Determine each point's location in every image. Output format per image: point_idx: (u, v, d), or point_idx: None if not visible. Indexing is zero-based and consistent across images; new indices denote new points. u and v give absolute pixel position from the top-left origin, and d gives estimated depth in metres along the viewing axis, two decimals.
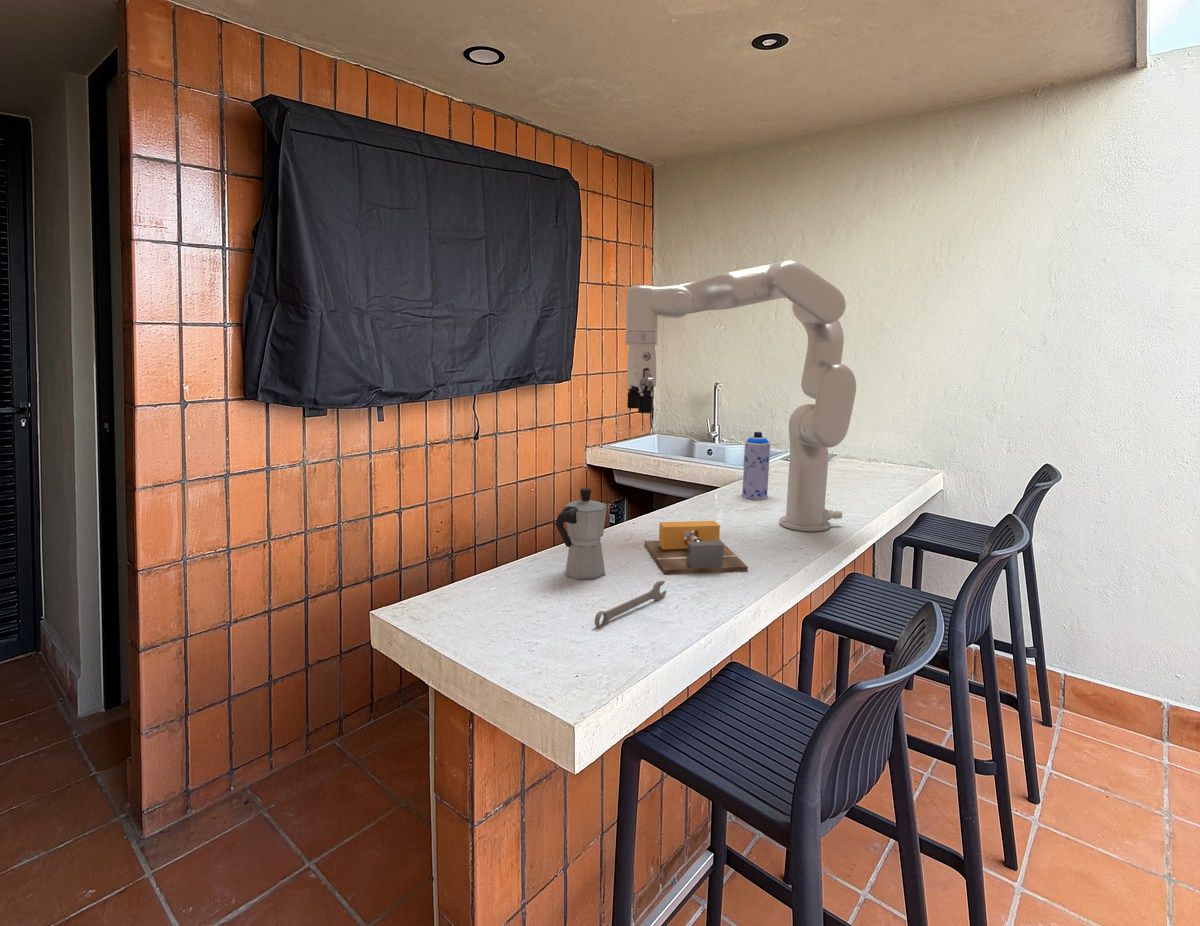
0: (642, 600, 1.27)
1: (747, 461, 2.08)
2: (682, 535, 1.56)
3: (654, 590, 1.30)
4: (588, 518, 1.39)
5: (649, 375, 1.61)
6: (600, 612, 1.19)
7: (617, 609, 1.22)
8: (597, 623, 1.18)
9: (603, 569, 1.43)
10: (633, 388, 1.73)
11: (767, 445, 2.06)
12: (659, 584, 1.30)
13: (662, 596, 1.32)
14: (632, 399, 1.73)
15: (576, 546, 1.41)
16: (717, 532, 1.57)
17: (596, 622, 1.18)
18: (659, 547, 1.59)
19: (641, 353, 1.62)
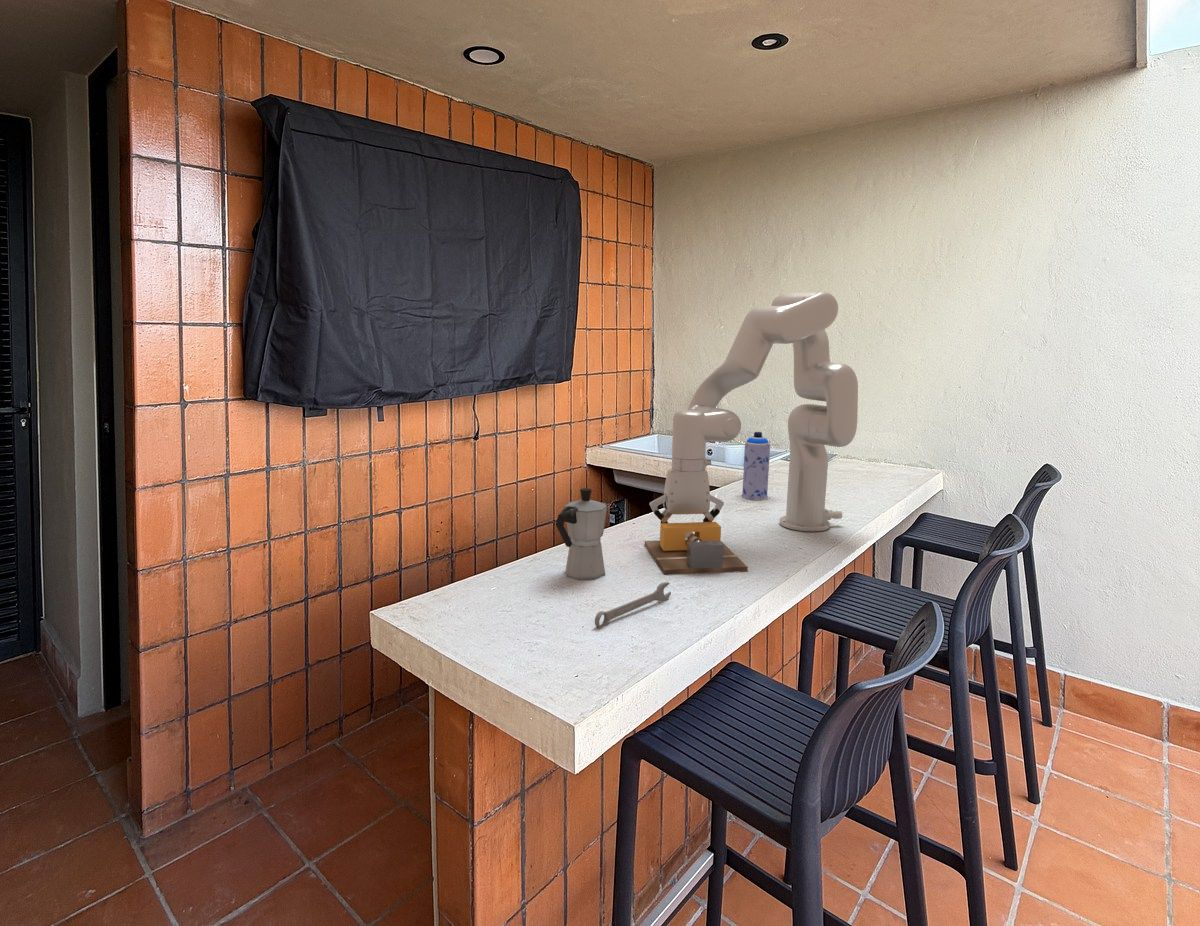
0: (645, 601, 1.27)
1: (747, 461, 2.08)
2: (683, 536, 1.56)
3: (658, 591, 1.29)
4: (588, 518, 1.39)
5: (717, 498, 1.61)
6: (601, 612, 1.19)
7: (618, 610, 1.22)
8: (597, 623, 1.18)
9: (603, 569, 1.43)
10: None
11: (767, 445, 2.06)
12: (663, 585, 1.30)
13: (666, 598, 1.31)
14: None
15: (576, 546, 1.41)
16: (718, 533, 1.57)
17: (596, 622, 1.18)
18: (659, 547, 1.59)
19: (708, 479, 1.59)
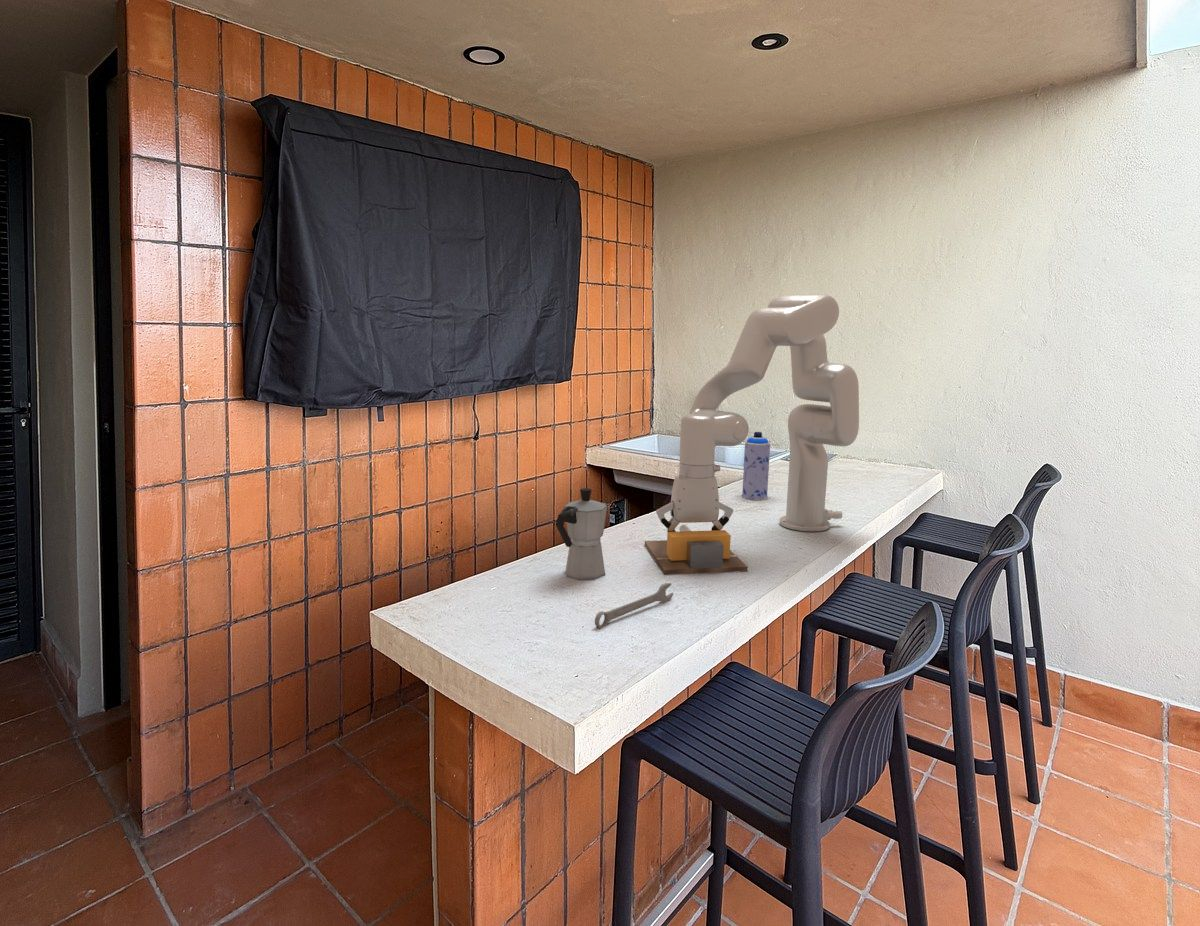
0: (646, 602, 1.26)
1: (747, 461, 2.08)
2: None
3: (660, 592, 1.29)
4: (588, 518, 1.39)
5: (727, 506, 1.55)
6: (601, 613, 1.19)
7: (619, 610, 1.22)
8: (597, 623, 1.18)
9: (603, 569, 1.43)
10: None
11: (767, 445, 2.06)
12: (665, 586, 1.29)
13: (668, 598, 1.31)
14: None
15: (576, 546, 1.41)
16: (728, 542, 1.50)
17: (596, 623, 1.18)
18: (659, 547, 1.59)
19: (717, 486, 1.52)
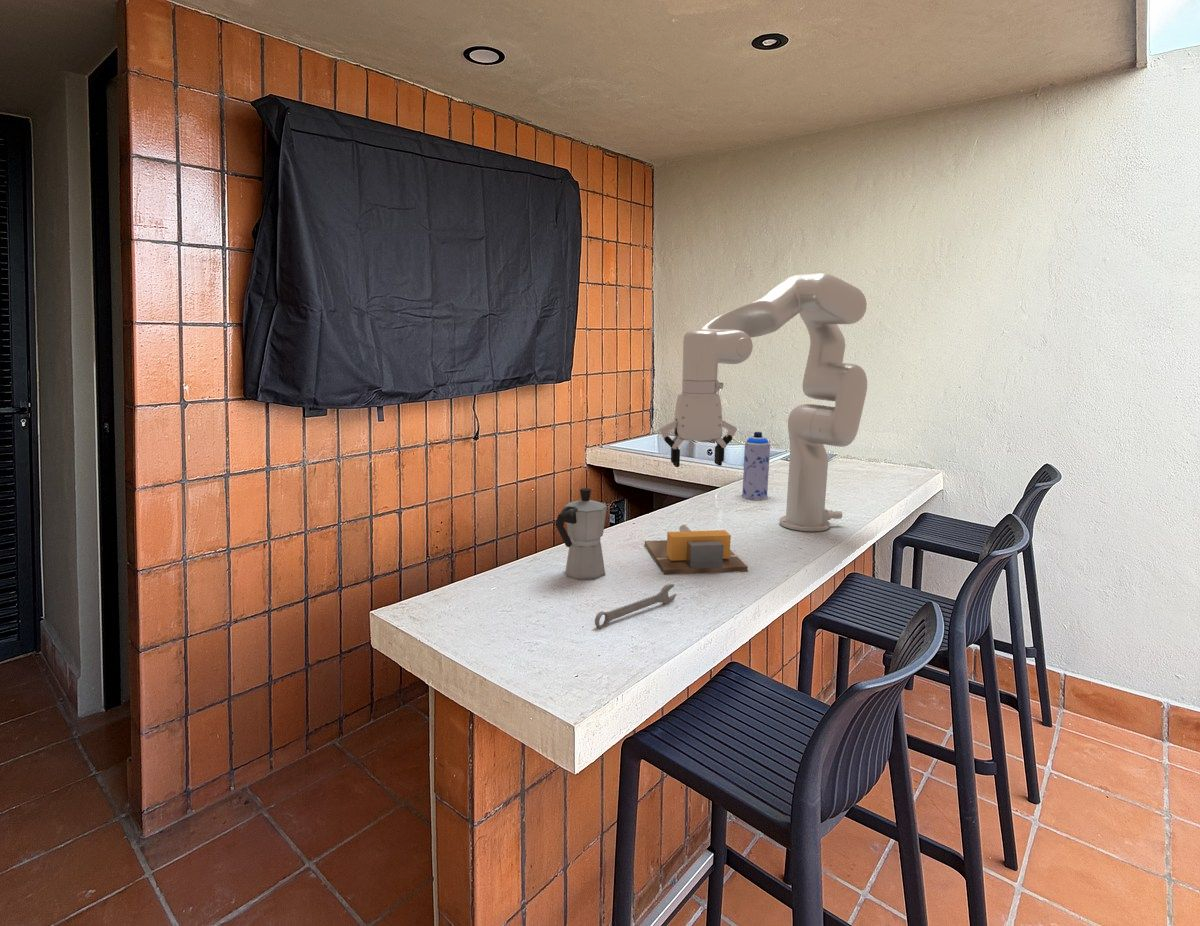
0: (648, 603, 1.26)
1: (747, 461, 2.08)
2: None
3: (662, 593, 1.28)
4: (588, 518, 1.39)
5: None
6: (601, 613, 1.19)
7: (620, 610, 1.22)
8: (597, 623, 1.18)
9: (603, 569, 1.43)
10: None
11: (767, 445, 2.06)
12: (667, 587, 1.29)
13: (671, 600, 1.30)
14: None
15: (576, 546, 1.41)
16: (728, 542, 1.50)
17: (596, 622, 1.18)
18: (659, 547, 1.59)
19: (720, 403, 1.52)
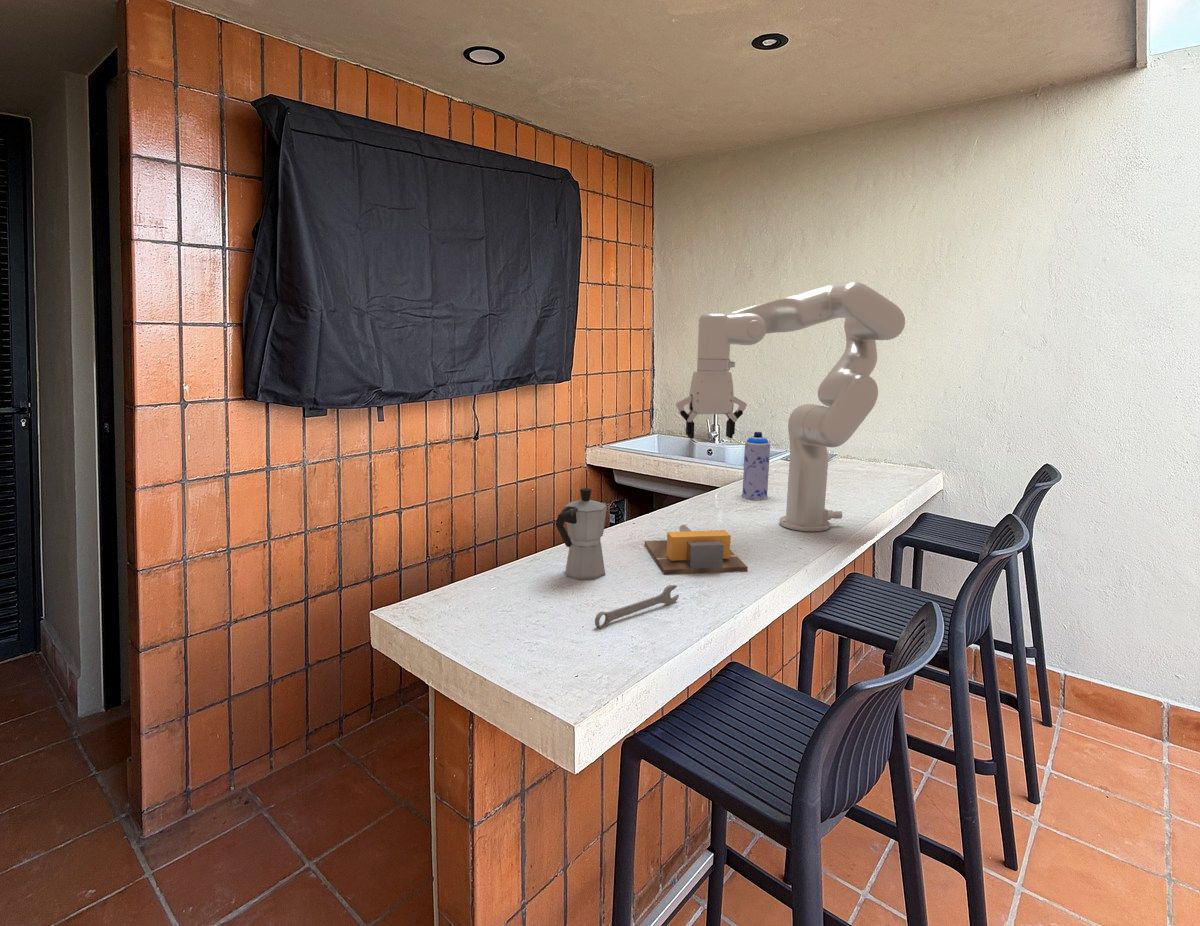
0: (650, 603, 1.26)
1: (748, 461, 2.08)
2: None
3: (664, 594, 1.28)
4: (588, 518, 1.39)
5: (740, 400, 1.68)
6: (601, 613, 1.19)
7: (620, 611, 1.21)
8: (597, 623, 1.18)
9: (603, 569, 1.43)
10: None
11: (767, 445, 2.06)
12: (670, 588, 1.28)
13: (673, 601, 1.30)
14: None
15: (576, 546, 1.41)
16: (728, 542, 1.50)
17: (596, 622, 1.18)
18: (659, 547, 1.59)
19: (732, 380, 1.65)
